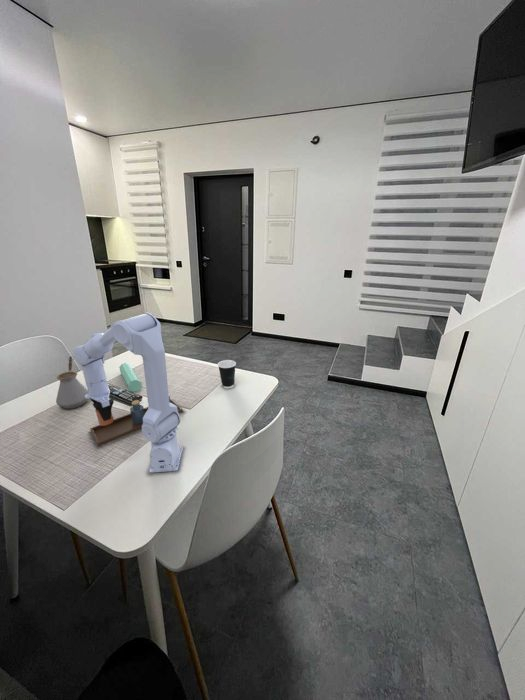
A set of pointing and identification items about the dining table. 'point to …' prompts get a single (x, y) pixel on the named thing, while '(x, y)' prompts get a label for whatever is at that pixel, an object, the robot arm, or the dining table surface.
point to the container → (130, 377)
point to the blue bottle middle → (137, 412)
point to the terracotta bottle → (101, 421)
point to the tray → (119, 428)
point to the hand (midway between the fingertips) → (105, 416)
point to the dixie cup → (227, 372)
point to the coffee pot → (70, 390)
